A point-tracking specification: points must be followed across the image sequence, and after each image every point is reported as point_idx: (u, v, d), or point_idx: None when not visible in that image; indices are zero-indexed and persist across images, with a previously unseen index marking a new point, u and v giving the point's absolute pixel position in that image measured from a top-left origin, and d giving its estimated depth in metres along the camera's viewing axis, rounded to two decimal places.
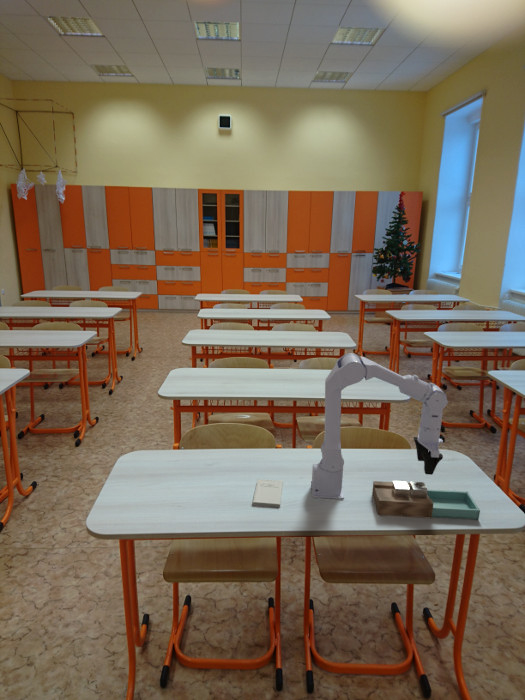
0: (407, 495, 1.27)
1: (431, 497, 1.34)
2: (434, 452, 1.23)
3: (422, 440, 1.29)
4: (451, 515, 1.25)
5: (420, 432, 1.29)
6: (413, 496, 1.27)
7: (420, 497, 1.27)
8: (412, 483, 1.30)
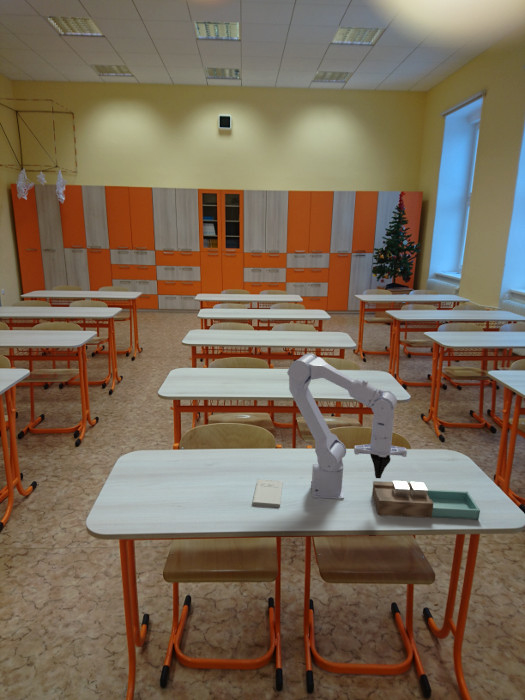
0: (407, 495, 1.27)
1: (431, 497, 1.34)
2: (354, 447, 1.27)
3: None
4: (451, 515, 1.25)
5: None
6: (413, 496, 1.27)
7: (420, 497, 1.27)
8: (412, 483, 1.30)
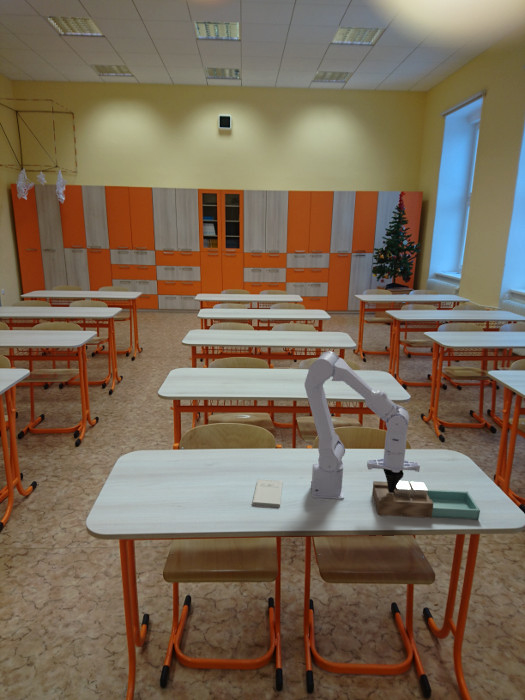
0: (408, 495, 1.27)
1: (431, 497, 1.34)
2: (367, 462, 1.28)
3: None
4: (451, 515, 1.25)
5: None
6: (413, 496, 1.27)
7: (420, 497, 1.27)
8: (412, 483, 1.30)
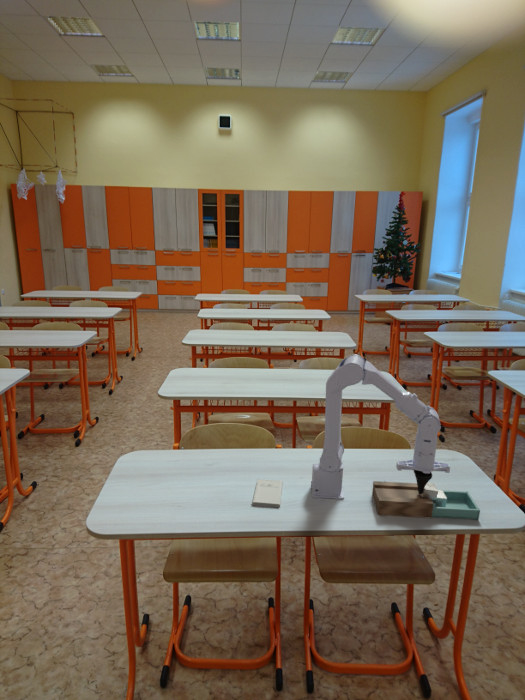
0: (434, 497, 1.27)
1: None
2: (397, 463, 1.27)
3: None
4: (451, 515, 1.25)
5: None
6: (438, 498, 1.27)
7: (436, 504, 1.27)
8: None
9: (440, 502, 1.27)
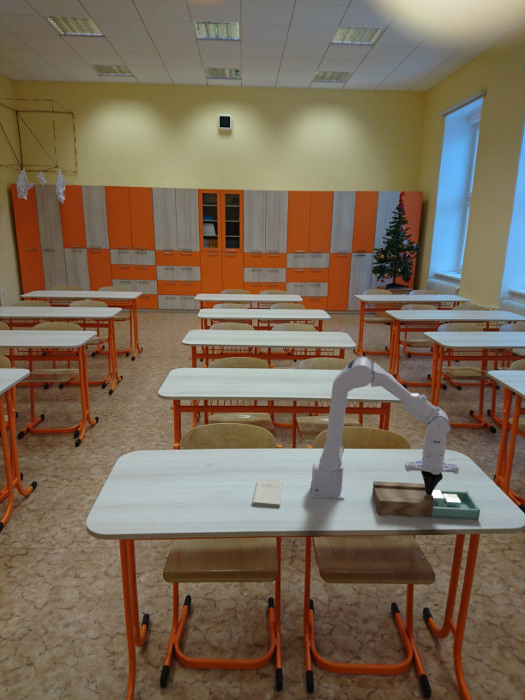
0: (441, 499, 1.27)
1: None
2: (405, 464, 1.27)
3: None
4: (451, 515, 1.25)
5: None
6: (459, 504, 1.27)
7: (453, 503, 1.27)
8: None
9: (455, 506, 1.27)
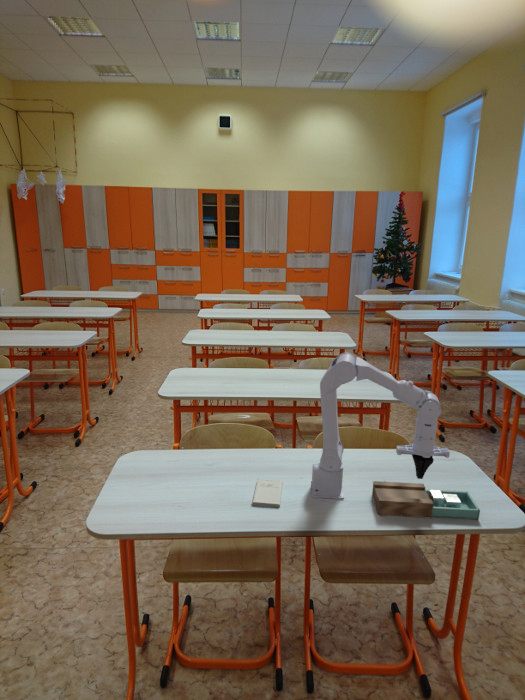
0: (441, 499, 1.27)
1: None
2: (397, 447, 1.27)
3: None
4: (451, 515, 1.25)
5: None
6: (459, 504, 1.27)
7: (453, 503, 1.27)
8: None
9: (455, 506, 1.27)
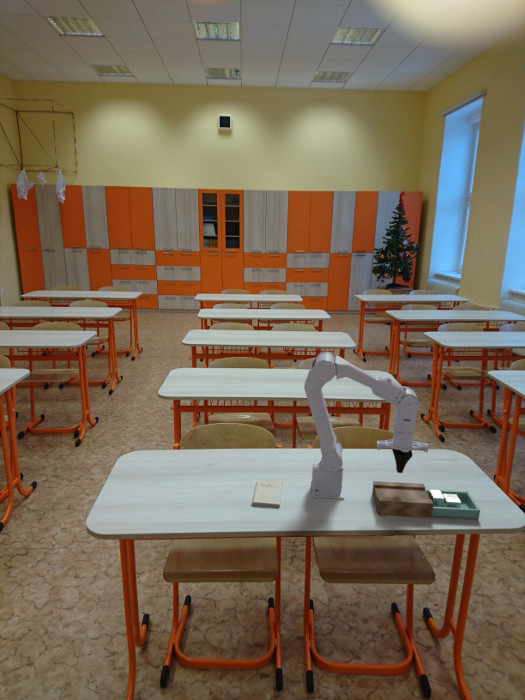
0: (441, 499, 1.27)
1: None
2: (377, 442, 1.30)
3: None
4: (451, 515, 1.25)
5: None
6: (459, 504, 1.27)
7: (453, 503, 1.27)
8: None
9: (455, 506, 1.27)
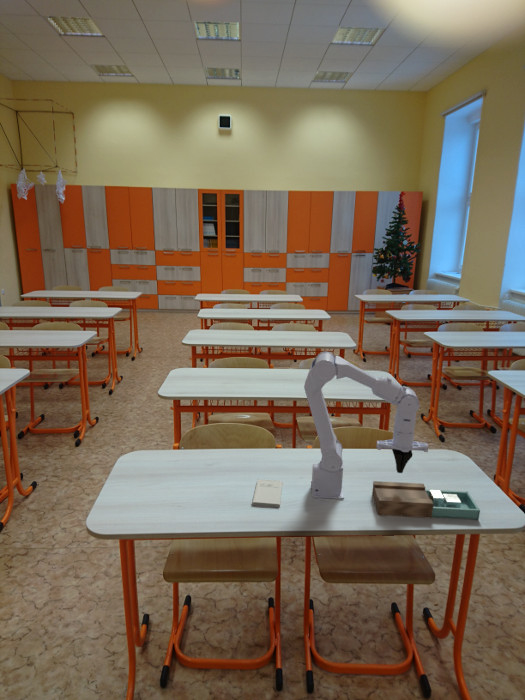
0: (441, 499, 1.27)
1: None
2: (377, 442, 1.30)
3: None
4: (451, 515, 1.25)
5: None
6: (459, 504, 1.27)
7: (453, 503, 1.27)
8: None
9: (455, 506, 1.27)
